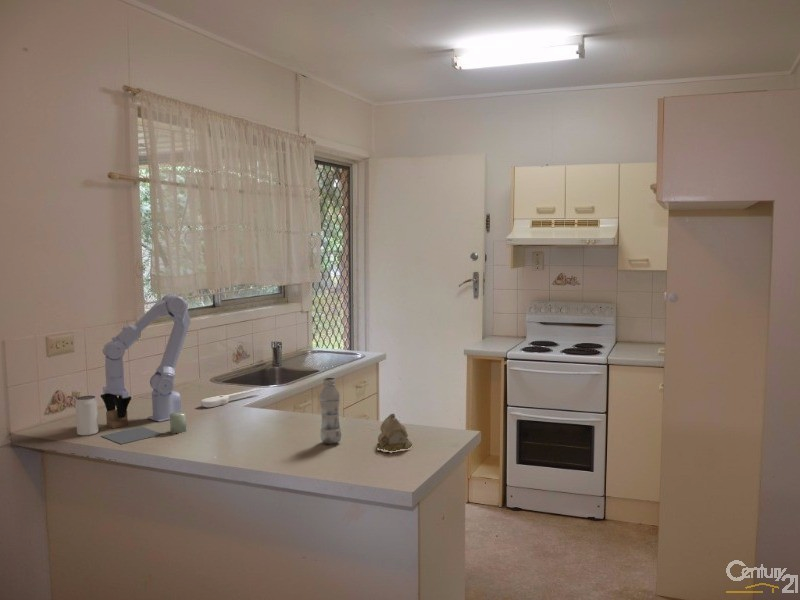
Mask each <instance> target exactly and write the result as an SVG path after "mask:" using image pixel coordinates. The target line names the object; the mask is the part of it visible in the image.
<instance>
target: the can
mask: <svg viewBox="0 0 800 600" xmlns="http://www.w3.org/2000/svg"><path fill="white" fill-rule="evenodd" d="M74 406H75V423H76V424H75V425H76V434H77V435H78V436H81V437H85V436H88V437H89V436H93V435H96V434H98V432H99V414H98V411H99V410H98V400H97V399H96V396H95V395H83V396H82V395H81V396H78V397H76V401H75V405H74Z"/></svg>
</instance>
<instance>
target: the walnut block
mask: <svg viewBox="0 0 800 600" xmlns="http://www.w3.org/2000/svg"><path fill="white" fill-rule="evenodd" d="M105 413H106V414H105V415H106V416H105V417H106V426H107V427H109V426H110V428H112V429H116V427H117V428H121V427H125V425H126V426H129V419H128V410H127V411H126V416H125V417H123V418H119V417H118V414H117V409H115V410H112V411H107V410H106V412H105Z"/></svg>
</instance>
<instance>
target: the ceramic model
mask: <svg viewBox="0 0 800 600" xmlns="http://www.w3.org/2000/svg"><path fill="white" fill-rule="evenodd" d="M380 432H381V433H380V434H379V435H378V436H377V444H376V447H377V448H379V449H383V450H384V449H385V450H388V451H396V450H400V449H408V448H410V447H411V446H412V445H413V443H412V441H410V439H409V438H408V437H409V434H408V432H407V429H406V427H405V425H404V424H402V423H401V422H400V421H399V420H398V419H397V418H396V415H395V413H391V414H389V415H388V416H387V417H386V418H384V420H383V422H382V423H381V425H380ZM378 442H379V443H378ZM412 447H413V446H412Z"/></svg>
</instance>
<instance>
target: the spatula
mask: <svg viewBox="0 0 800 600" xmlns="http://www.w3.org/2000/svg"><path fill="white" fill-rule="evenodd" d="M261 390H263V388H262V387H256V388H253V389H252V388H251V389H248V390H244V391H239V392H234V393H230V394H226V395H225V394H224V395H223V394H222V395H217V396H211V397H207V398H202V399H201V400H200V406H201V407H202V408H205V409H207V408H215V407H218V406H223V405H228V404H229V398H231V397H233V396H237V395H243V394H247V393H252V392H256V391H257V392H258V391H261Z"/></svg>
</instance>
